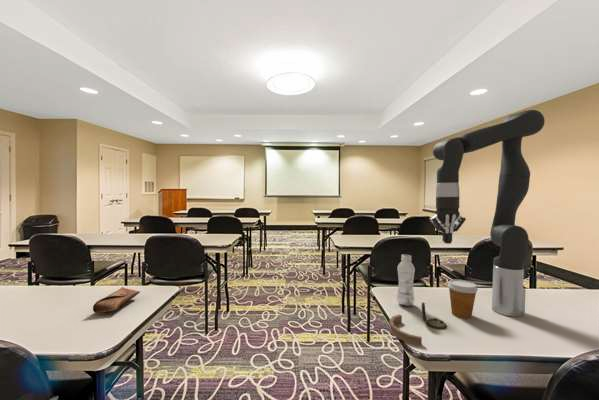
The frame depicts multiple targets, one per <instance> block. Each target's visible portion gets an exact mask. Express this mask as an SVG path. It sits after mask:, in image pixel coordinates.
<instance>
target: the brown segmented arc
mask: <svg viewBox="0 0 599 400" xmlns="http://www.w3.org/2000/svg"><path fill="white" fill-rule="evenodd" d="M402 319H403V316H402V314H396V315H394V316H392V317H391V318H390V319H389V322H388V323H389V327H388V328H389V331H390V334H391V335H393V336H394V337H395V338H396V339H398V340H400V341H403V342H405V343H408V344H411V345H416V346H422V343H423V342H422V339H423V338H422V337H423V336H420V335H415V334H410V333H407V332H406V331H403V330H400V329H399V328H398V327H397V325H399V324H401V323H403V322H402V321H403V320H402Z"/></svg>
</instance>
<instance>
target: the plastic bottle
mask: <svg viewBox="0 0 599 400" xmlns="http://www.w3.org/2000/svg"><path fill="white" fill-rule="evenodd" d="M400 257H401V258H400V260H401V261H400V262H399V263H398V265H397V268H396V269H397V277H398V286H397V287H398V288H397V292H396V300H397V303H398V304H399V305H401V306H403V307H404V306H406V307H411V306H413V305H414V304H415V294H414V293H415V292H414V279H415V272H416V269H415V266H414V264H413V263H412V260H413V259H412V255H410V254H408V253H407V254H406V253H405V254H404V253H403V254H401V256H400Z"/></svg>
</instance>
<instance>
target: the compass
mask: <svg viewBox="0 0 599 400" xmlns="http://www.w3.org/2000/svg"><path fill="white" fill-rule="evenodd" d="M425 304H426V303H425V302H424V301H423V302H421V314H422V320H423V322H425V323H426V325H427V326H428V327H430V328H432V329H436V330H445V329H446V328H447V327H448V325H447V323H445V321H443V320H442V319H440V318H438V317H437V316H435V317H431V318H429V319H427V315H426V305H425Z"/></svg>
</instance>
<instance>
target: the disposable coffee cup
mask: <svg viewBox="0 0 599 400" xmlns="http://www.w3.org/2000/svg"><path fill="white" fill-rule="evenodd" d="M447 287H448V289H449V300H450V307H451V308H450V309H451V314H452V316H454V317H456V318H458V319H465V320H469V319H471V318H472V316H473V311H474V305H475V301H476V300H475V299H476V294H477V291H478V289H479V288H478V287H477V284H476V283H474V282H472V281H468V280H463V279H450V280H449V281H448V283H447Z"/></svg>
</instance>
